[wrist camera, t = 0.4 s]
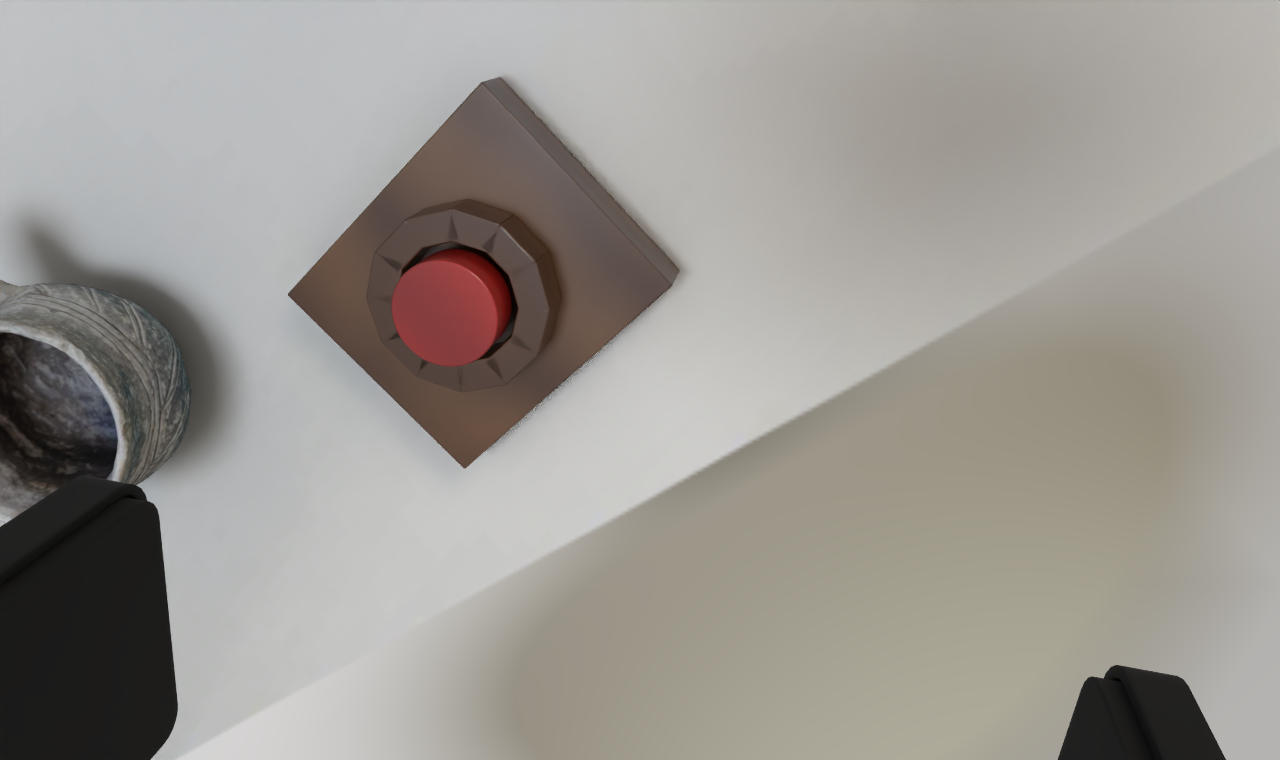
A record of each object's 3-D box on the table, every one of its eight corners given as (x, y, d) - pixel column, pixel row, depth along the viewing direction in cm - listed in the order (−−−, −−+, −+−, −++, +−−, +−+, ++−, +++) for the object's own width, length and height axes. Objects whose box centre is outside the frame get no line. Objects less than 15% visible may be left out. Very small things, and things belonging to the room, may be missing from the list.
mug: (137, 497, 48) (-27, 618, 39) (-60, 294, 46) (-284, 372, 36) (264, 388, 45) (117, 493, 35) (58, 163, 42) (-156, 212, 33)
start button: (456, 225, 36) (439, 237, 35) (533, 305, 37) (520, 320, 35) (388, 295, 38) (369, 309, 36) (463, 371, 38) (447, 388, 37)
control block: (500, 76, 38) (464, 86, 34) (680, 270, 39) (665, 299, 36) (312, 279, 42) (263, 308, 39) (481, 447, 44) (449, 489, 40)
